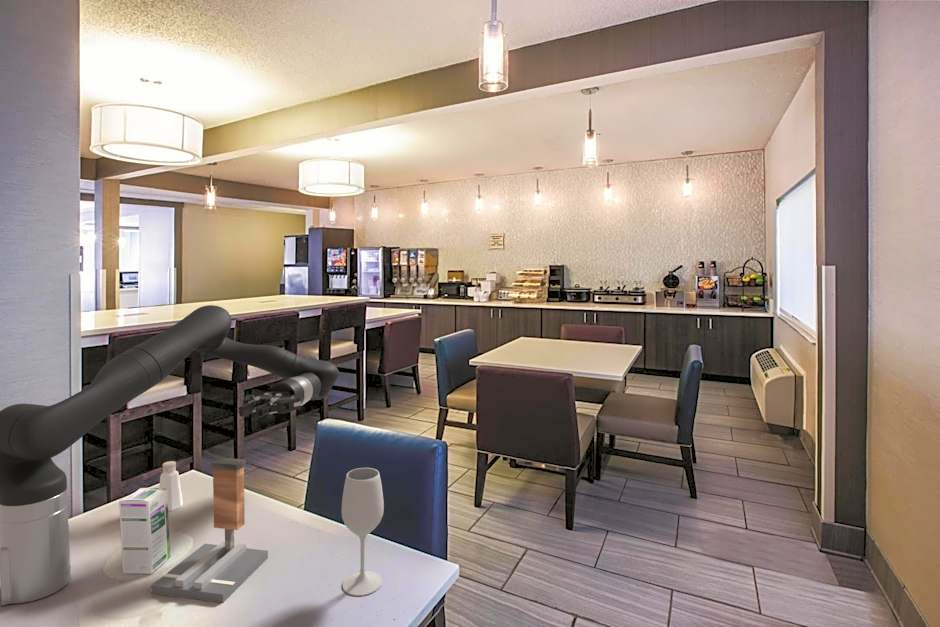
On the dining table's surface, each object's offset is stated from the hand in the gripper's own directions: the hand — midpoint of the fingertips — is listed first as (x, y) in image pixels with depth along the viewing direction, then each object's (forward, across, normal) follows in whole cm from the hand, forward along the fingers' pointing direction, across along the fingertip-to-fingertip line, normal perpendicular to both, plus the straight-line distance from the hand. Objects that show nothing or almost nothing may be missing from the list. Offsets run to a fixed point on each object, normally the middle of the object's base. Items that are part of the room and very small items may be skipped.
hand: (249, 412), depth 104 cm
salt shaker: (-10, -28, +28) cm, 41 cm away
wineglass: (+10, +29, +28) cm, 41 cm away
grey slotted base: (+12, 0, +28) cm, 31 cm away
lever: (+7, 0, +26) cm, 27 cm away
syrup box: (+12, -14, +28) cm, 34 cm away
